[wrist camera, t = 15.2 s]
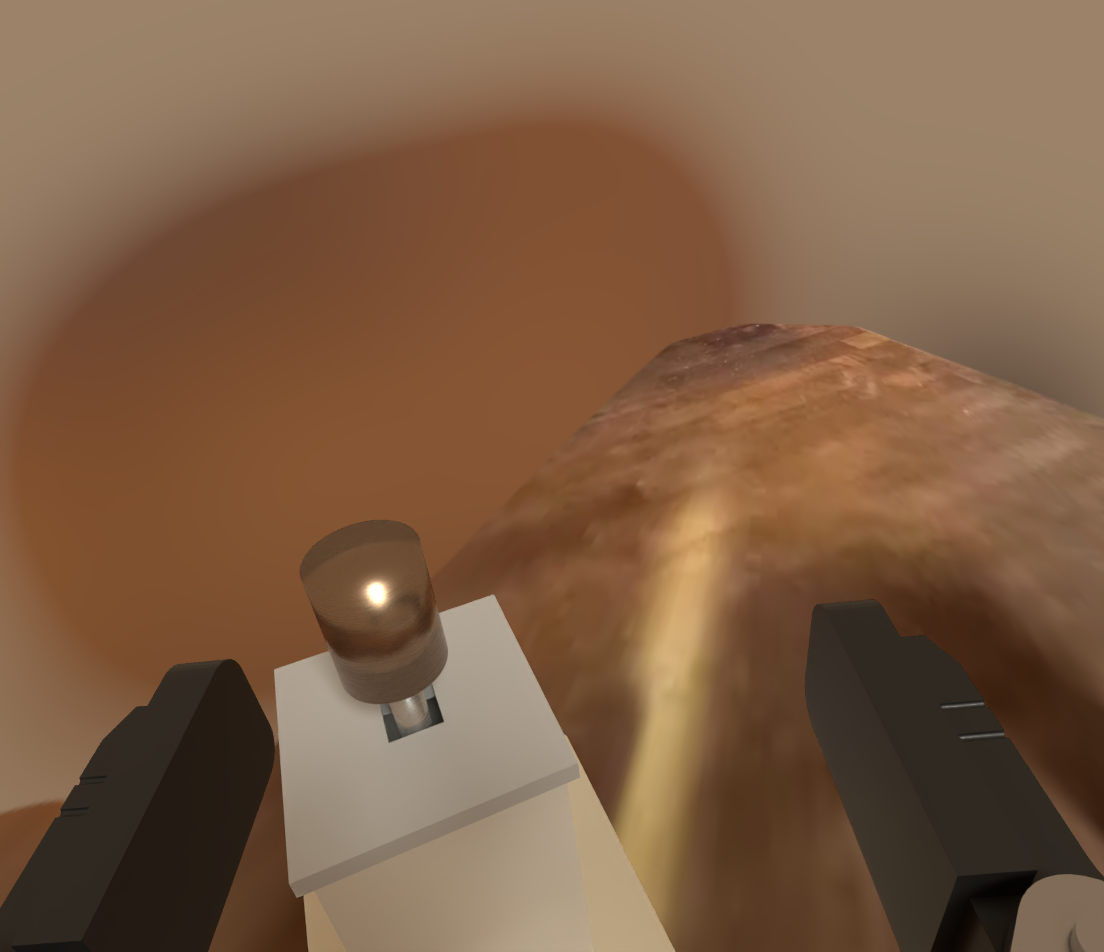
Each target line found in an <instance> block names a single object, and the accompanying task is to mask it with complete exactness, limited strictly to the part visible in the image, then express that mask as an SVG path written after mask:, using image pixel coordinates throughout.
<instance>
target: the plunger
mask: <svg viewBox="0 0 1104 952" xmlns="http://www.w3.org/2000/svg"><path fill="white" fill-rule="evenodd" d="M300 577H301V580H302V582H303V585H304V588H305V590H306V593H307V595H308V598H309V600H310V603H311V605H312V608H313V611H314V613H315V616H316V619H317V621H318V623H319V626H320V629H321V632H322V634H323V637H324V639H325V642H326V645H327V647H328V650H329V652H330V655H331V657H332V660H333V663H334V665H335V668H336V670H337V673H338V676H339V678H340V681H341V683H342V686H343V688H344V689H345V691H346V692H347V693H348V694H349V695H350V696H351V697H353V698H355V699H356V700H359V701H361V702H365V703H369V704H390V707H391V710H392V713H393V716H394V719H395V721H396V724H397V727H398V730H399V733H400V736H401V738H403V737H406V736H409V735H411V734H414V733H416V732H419V731H422V730H424V729H427V728H429V727H432V726H434V725H433V722H432V719H431V715H430V712H429V709H428V705H427V702H426V699H425V696H424V692H423V690H424V689H426V688H427V687H428V686H429V685H430V684H432V683H433V682H434V681H435V680H436V679H437V677H438V676H439V675H440V674H441V672H442V670H443V669H444V667H445V664H446V662H447V658H448V646H447V642H446V638H445V634H444V630H443V627H442V623H441V619H440V615H439V611H438V608H437V604H436V600H435V596H434V592H433V588H432V585H431V581H430V577H429V573H428V569H427V566H426V562H425V558H424V554H423V550H422V546H421V543H420V539H419V536H418V534H417V533H416V532H415V530H414V529H412V528H411V527H410V526H408V525H406V524H403V523H401V522H397V521H391V520H372V521H365V522H360V523H356V524H352V525H349V526H346V527H344V528H341V529H339V530H337V531H335V532H333V533H331V534H329V535H327V536H326V537H324V538H323V539H321V540H320V541H319V542H317V543H316V544H315V545H314V546H313V547H312V548H311V549H310V550H309V551H308V552H307V554H306V555H305V557H304V558H303V560H302V563H301V566H300Z"/></svg>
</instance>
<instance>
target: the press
mask: <svg viewBox="0 0 1104 952" xmlns="http://www.w3.org/2000/svg"><path fill="white" fill-rule="evenodd" d="M439 615H440V619H441V623H442V627H443V630H444V634H445V638H446V642H447V646H448V658H447V662H446V664H445V667H444V669H443V670H442V672H441V674H440V675H439V676H438V677H437V679H436V680H435V681H434V682H433V683H432V684H430V685H429V686H428V687H427V688H426V689H424V690H423V692H424V696H425V699H426V702H427V705H428V709H429V712H430V715H431V719H432V722H433V725H434V726H432V727H429V728H427V729H424V730H422V731H419V732H416V733H414V734H411V735H409V736H406V737H403V738H401V736H400V733H399V730H398V727H397V724H396V721H395V719H394V716H393V713H392V710H391V707H390V704H369V703H365V702H361V701H359V700H356V699H355V698H353V697H351V696H350V695H349V694H348V693H347V692H346V691H345V689H344V688H343V686H342V683H341V681H340V678H339V676H338V673H337V670H336V668H335V665H334V663H333V660H332V657H331V655H330V652H329V651H327V652H324V653H321V654H318V655H315V656H312V657H310V658H307V659H304V660H301V661H298V662H295V663H292V664H289V665H286V666H283V667H280V668H278V669H275V670H274V675H275V689H276V703H277V717H278V733H279V747H280V762H281V776H282V791H283V805H284V820H285V834H286V849H287V863H288V878H289V885H290V887H291V889H292V890H293V892H294V894H295V896H296V898H298V897H301V896H303V895H304V907H305V918H306V930H307V942H308V952H675V950H674V948H673V946H672V944H671V942H670V940H669V938H668V936H667V934H666V932H665V930H664V928H663V926H662V924H661V922H660V920H659V918H658V916H657V914H656V912H655V910H654V908H653V906H652V904H651V902H650V900H649V898H648V896H647V894H646V892H645V890H644V888H643V886H642V884H641V882H640V880H639V878H638V876H637V874H636V872H635V870H634V868H633V866H632V865H631V863H630V861H629V859H628V857H627V855H626V853H625V851H624V849H623V847H622V845H621V843H620V841H619V839H618V837H617V835H616V833H615V831H614V829H613V827H612V825H611V823H610V821H609V819H608V817H607V815H606V813H605V811H604V809H603V807H602V805H601V803H600V801H599V799H598V797H597V795H596V793H595V791H594V789H593V787H592V785H591V783H590V781H589V779H588V777H587V775H586V773H585V771H584V769H583V767H582V765H581V763H580V761H579V759H578V757H577V755H576V753H575V751H574V749H573V747H572V745H571V743H570V741H569V740H568V738H567V736H566V735H565V736H564V734H563V732H562V730H561V728H560V726H559V724H558V722H557V720H556V718H555V716H554V714H553V712H552V710H551V708H550V706H549V704H548V702H547V700H546V698H545V696H544V694H543V692H542V690H541V688H540V686H539V684H538V682H537V680H536V678H535V676H534V674H533V672H532V670H531V668H530V666H529V664H528V662H527V660H526V658H525V656H524V654H523V652H522V650H521V648H520V646H519V644H518V642H517V640H516V638H515V636H514V634H513V632H512V630H511V628H510V626H509V624H508V622H507V620H506V618H505V616H504V614H503V612H502V610H501V608H500V606H499V604H498V602H497V600H496V598H495V596H494V595H491V596H488V597H485V598H482V599H479V600H476V601H473V602H470V603H467V604H464V605H462V606H459V607H456V608H453V609H450V610H447V611H444V612H441V613H439Z"/></svg>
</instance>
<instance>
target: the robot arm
mask: <svg viewBox="0 0 1104 952" xmlns="http://www.w3.org/2000/svg"><path fill="white" fill-rule="evenodd" d="M805 694H806V702H807V707H808V712H809V716H810V720H811V723H812V726H813V729H814V731H815V734H816V737H817V739H818V742H819V744H820V747H821V749H822V752H823V754H824V757H825V759H826V762H827V765H828V767H829V770H830V772H831V775H832V777H833V780H834V782H835V785H836V788H837V790H838V793H839V795H840V798H841V800H842V803H843V805H844V808H845V810H846V813H847V816H848V818H849V821H850V823H851V826H852V828H853V831H854V833H855V836H856V838H857V841H858V844H859V846H860V849H861V851H862V854H863V856H864V859H865V861H866V864H867V866H868V869H869V872H870V874H871V877H872V879H873V882H874V884H875V887H876V889H877V892H878V895H879V897H880V900H881V902H882V905H883V907H884V910H885V912H886V915H887V917H888V920H889V923H890V925H891V928H892V930H893V933H894V935H895V938H896V940H897V943H898V945H899V948H900V951H901V952H1104V876H1103V875H1102V874H1101V873H1100V872H1099V871H1098V870H1097V869H1096V867H1095V866H1094V865H1093V863H1092V862H1091V861H1090V859H1089V858H1088V856H1087V855H1086V853H1085V852H1084V850H1083V849H1082V847H1081V846H1080V844H1079V843H1078V841H1077V840H1076V838H1075V837H1074V835H1073V834H1072V832H1071V831H1070V829H1069V828H1068V826H1067V825H1066V823H1065V822H1064V820H1063V819H1062V817H1061V816H1060V814H1059V813H1058V811H1057V810H1056V808H1055V807H1054V805H1053V804H1052V802H1051V801H1050V799H1049V798H1048V796H1047V794H1046V793H1045V791H1044V790H1043V788H1042V787H1041V785H1040V784H1039V782H1038V781H1037V779H1036V778H1035V776H1034V775H1033V773H1032V772H1031V770H1030V769H1029V767H1028V766H1027V764H1026V763H1025V761H1024V760H1023V758H1022V757H1021V755H1020V754H1019V752H1018V751H1017V749H1016V748H1015V746H1014V745H1013V743H1012V742H1011V740H1010V739H1009V738H1006V737H1005V735H1004V729H1003V728H1002V726H1001V725H1000V723H999V722H998V720H997V719H996V717H995V716H994V714H993V713H992V711H991V710H990V708H989V707H985V705H984V699H983V698H982V696H981V695H980V693H979V692H978V690H977V689H976V687H975V686H974V684H973V683H972V681H971V680H970V678H969V677H968V675H967V674H966V672H965V671H964V669H963V668H962V666H961V664H960V663H958V662H957V661H956V660H955V659H953V658H952V657H951V656H949V655H948V654H947V653H946V652H944V651H943V650H942V649H941V648H939V647H938V646H937V645H936V644H934V643H933V642H932V641H931V640H929V639H928V638H927V637H926V636H924V635H919V636H908V637H900V636H899V634H898V632H897V631H896V629H895V627H894V625H893V624H892V622H891V620H890V619H889V617H888V615H887V614H886V612H885V610H884V609H883V607H882V606H881V605H880V603H879V602H877V601H876V600H874V599H869V600H858V601H848V602H838V603H827V604H817V605H816V606H815V607H814V610H813V614H812V622H811V631H810V640H809V649H808V658H807V667H806V676H805ZM274 752H275V745H274V737H273V732H272V729H271V726H270V724H269V722H268V720H267V718H266V716H265V714H264V712H263V710H262V708H261V706H260V705H259V702H258V700H257V698H256V696H255V694H254V692H253V690H252V688H251V686H250V684H249V682H248V680H247V678H246V676H245V674H244V673H243V670H242V668H241V667H240V665H239V664H238V663H237V662H236V661H234V660H232V659H226V660H216V661H206V662H196V663H185V664H177V665H175V666H173V667H172V668H171V669H170V670H169V671H168V672H167V673H166V675H165V676H164V678H163V679H162V681H161V683H160V685H159V686H158V688H157V690H156V692H155V693H154V695H153V697H152V699H151V701H150V702H149V704H148V706H139V707H136V708H135V709H134V710H133V711H132V712H131V713H130V714H129V715H128V716H127V717H126V718H125V719H124V720H122V721H121V722H120V723H119V724H118V725H117V726H116V728H114V729H113V730H112V731H111V732H110V733H109V734H108V735H107V736H106V737H105V738H104V739H103V740H102V742H101V743H100V745H99V747H98V748H97V750H96V752H95V753H94V755H93V757H92V758H91V760H90V761H89V763H88V765H87V766H86V768H85V770H84V771H83V773H82V775H81V776H80V784H79V785H75V786H74V788H73V790H72V791H71V793H70V794H69V796H68V798H67V799H66V801H65V803H64V804H63V806H62V808H61V809H60V810H61V815H60V817H58V818H55V819H54V821H53V822H52V824H51V826H50V827H49V829H48V831H47V832H46V834H45V836H44V837H43V839H42V840H41V842H40V844H39V845H38V847H37V849H36V850H35V852H34V854H33V855H32V857H31V859H30V860H29V862H28V864H27V865H26V867H25V869H24V870H23V872H22V873H21V875H20V877H19V878H18V880H17V882H16V883H15V885H14V887H13V888H12V890H11V892H10V893H9V895H8V897H7V898H6V900H5V901H4V903H3V905H2V906H1V908H0V952H208V950H209V947H210V944H211V941H212V939H213V936H214V933H215V930H216V927H217V924H218V922H219V919H220V916H221V913H222V910H223V908H224V905H225V902H226V899H227V896H228V893H229V891H230V888H231V885H232V882H233V879H234V877H235V874H236V871H237V868H238V865H239V862H240V860H241V857H242V854H243V851H244V848H245V846H246V843H247V840H248V837H249V834H250V831H251V829H252V826H253V823H254V820H255V817H256V815H257V812H258V809H259V806H260V803H261V800H262V798H263V795H264V792H265V789H266V786H267V784H268V781H269V778H270V775H271V772H272V768H273V763H274Z"/></svg>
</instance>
